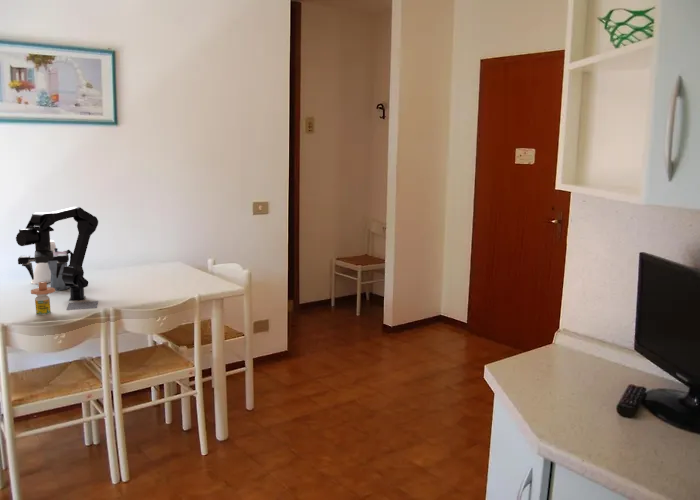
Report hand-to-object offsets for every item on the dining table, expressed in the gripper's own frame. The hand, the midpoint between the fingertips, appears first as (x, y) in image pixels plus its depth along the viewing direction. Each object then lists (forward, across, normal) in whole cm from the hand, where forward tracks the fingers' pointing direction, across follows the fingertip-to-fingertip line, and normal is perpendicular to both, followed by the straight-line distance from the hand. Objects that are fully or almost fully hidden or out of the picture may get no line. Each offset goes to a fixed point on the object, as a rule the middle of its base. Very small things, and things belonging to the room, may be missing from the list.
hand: (45, 278), depth 254 cm
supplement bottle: (+13, 0, -9) cm, 16 cm away
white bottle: (+13, -7, +53) cm, 55 cm away
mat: (+13, +14, -1) cm, 19 cm away
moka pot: (+13, +2, +37) cm, 39 cm away
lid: (+3, 0, -9) cm, 10 cm away
